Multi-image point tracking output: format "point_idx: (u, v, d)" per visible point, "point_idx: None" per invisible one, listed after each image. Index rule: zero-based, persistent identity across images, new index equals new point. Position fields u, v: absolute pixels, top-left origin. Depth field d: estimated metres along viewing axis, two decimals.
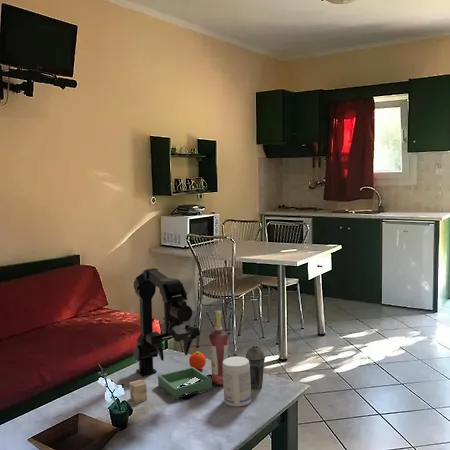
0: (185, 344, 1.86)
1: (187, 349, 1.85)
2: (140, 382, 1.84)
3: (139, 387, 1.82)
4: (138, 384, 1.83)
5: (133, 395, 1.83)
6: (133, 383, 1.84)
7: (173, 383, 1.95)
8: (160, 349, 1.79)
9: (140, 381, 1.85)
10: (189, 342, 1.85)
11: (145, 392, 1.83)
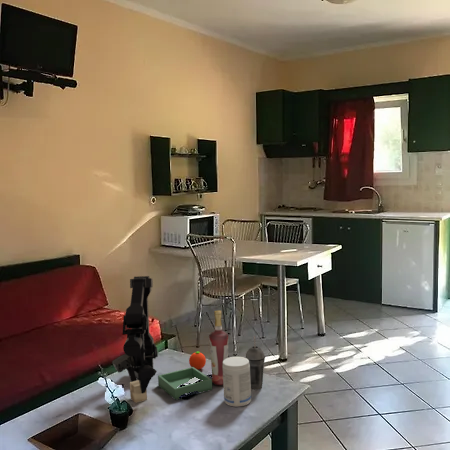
0: None
1: (140, 387, 1.80)
2: None
3: (139, 387, 1.82)
4: (138, 384, 1.83)
5: (133, 395, 1.83)
6: (133, 383, 1.84)
7: (173, 383, 1.95)
8: (128, 371, 1.88)
9: None
10: (139, 381, 1.79)
11: (145, 392, 1.83)
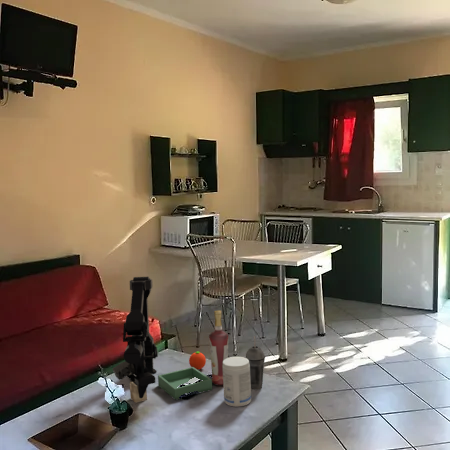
0: None
1: (138, 392, 1.82)
2: None
3: None
4: None
5: (133, 395, 1.83)
6: (133, 383, 1.84)
7: (173, 383, 1.95)
8: (130, 380, 1.86)
9: None
10: (137, 386, 1.81)
11: (145, 392, 1.84)
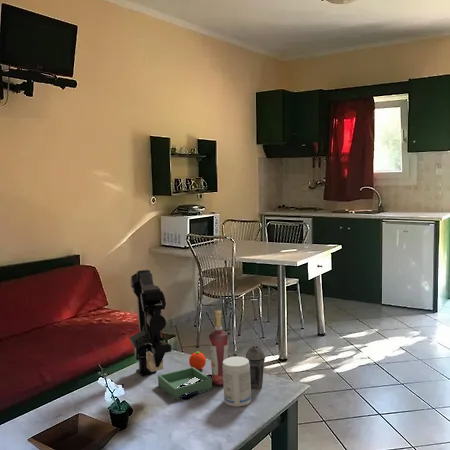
0: None
1: (155, 361, 1.84)
2: None
3: None
4: None
5: (149, 364, 1.85)
6: (149, 352, 1.86)
7: (173, 383, 1.95)
8: (147, 350, 1.89)
9: None
10: None
11: (161, 361, 1.85)
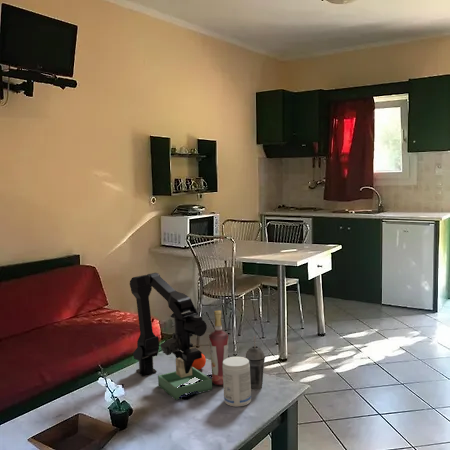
0: None
1: (184, 367, 1.89)
2: None
3: None
4: None
5: (179, 370, 1.91)
6: (179, 359, 1.92)
7: (173, 383, 1.95)
8: (176, 357, 1.94)
9: None
10: (184, 361, 1.88)
11: (191, 367, 1.91)
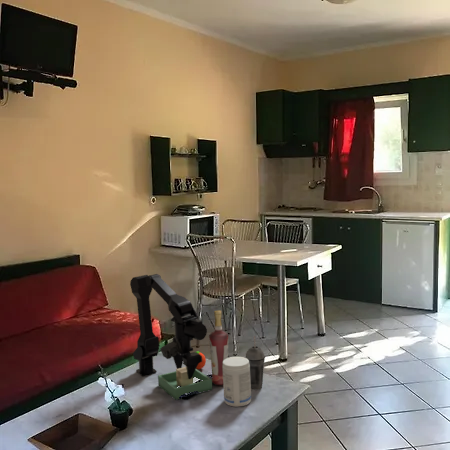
0: None
1: (187, 373, 1.88)
2: (186, 369, 1.93)
3: (186, 374, 1.90)
4: (184, 371, 1.91)
5: (179, 381, 1.91)
6: (179, 370, 1.92)
7: (173, 383, 1.95)
8: (174, 359, 1.96)
9: None
10: (186, 367, 1.87)
11: (191, 378, 1.92)
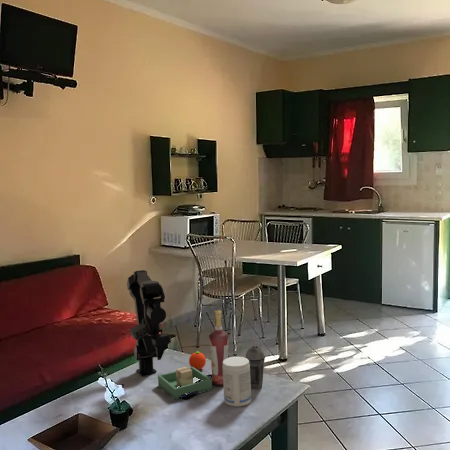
0: None
1: (157, 354, 1.90)
2: (186, 369, 1.93)
3: (186, 374, 1.90)
4: (184, 371, 1.91)
5: (179, 381, 1.91)
6: (179, 370, 1.92)
7: (173, 383, 1.95)
8: (143, 340, 1.98)
9: (186, 368, 1.93)
10: (156, 348, 1.88)
11: (191, 378, 1.92)
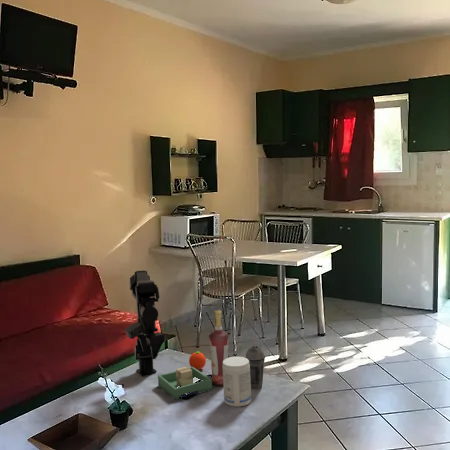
0: None
1: (151, 353, 1.90)
2: (186, 369, 1.93)
3: (186, 374, 1.90)
4: (184, 371, 1.91)
5: (179, 381, 1.91)
6: (179, 370, 1.92)
7: (173, 383, 1.95)
8: (139, 340, 1.98)
9: (186, 368, 1.93)
10: (150, 347, 1.88)
11: (191, 378, 1.92)
